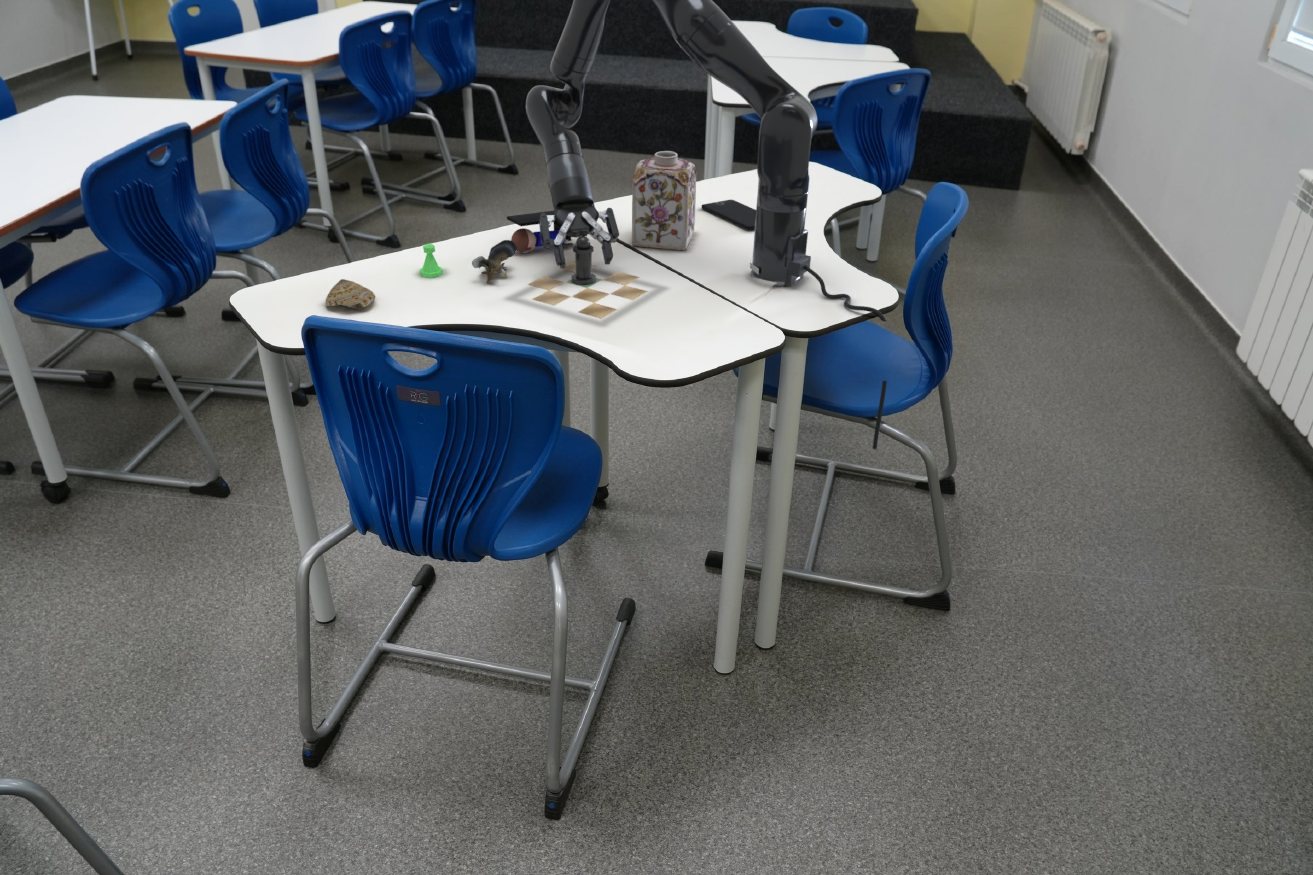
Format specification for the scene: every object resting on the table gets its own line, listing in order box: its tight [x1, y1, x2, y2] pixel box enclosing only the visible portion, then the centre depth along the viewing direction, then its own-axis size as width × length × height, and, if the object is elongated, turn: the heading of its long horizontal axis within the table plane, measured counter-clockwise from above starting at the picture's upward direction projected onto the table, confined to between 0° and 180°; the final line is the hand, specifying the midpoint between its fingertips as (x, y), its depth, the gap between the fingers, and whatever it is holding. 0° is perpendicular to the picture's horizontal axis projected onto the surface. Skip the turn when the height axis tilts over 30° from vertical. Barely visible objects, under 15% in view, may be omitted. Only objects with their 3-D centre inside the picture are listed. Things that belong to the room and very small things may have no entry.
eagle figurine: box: [471, 239, 517, 285], centre depth 184 cm, size 8×7×9 cm
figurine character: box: [506, 210, 581, 254], centre depth 198 cm, size 7×8×15 cm
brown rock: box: [325, 278, 377, 310], centre depth 171 cm, size 8×6×8 cm
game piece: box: [419, 242, 444, 279], centre depth 184 cm, size 4×4×6 cm
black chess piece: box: [570, 236, 597, 286], centre depth 179 cm, size 5×5×8 cm
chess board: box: [527, 260, 649, 320], centre depth 179 cm, size 20×20×1 cm
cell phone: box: [701, 199, 756, 231], centre depth 219 cm, size 9×18×1 cm, turn 33°
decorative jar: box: [631, 150, 698, 251], centre depth 200 cm, size 12×12×18 cm
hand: (586, 264), depth 178 cm, fingers open, 8 cm apart
